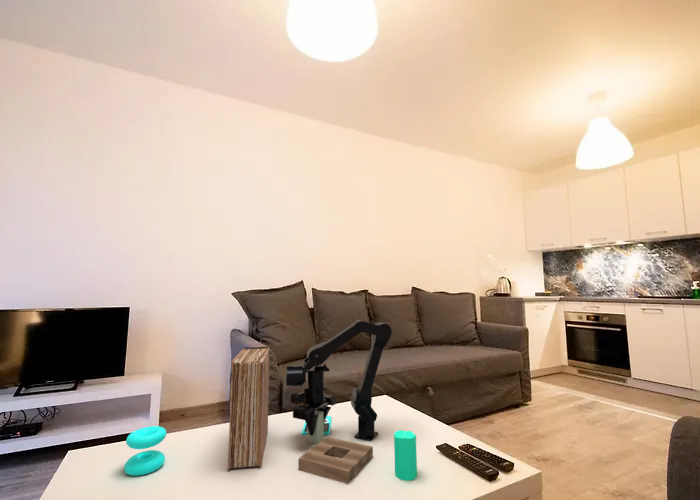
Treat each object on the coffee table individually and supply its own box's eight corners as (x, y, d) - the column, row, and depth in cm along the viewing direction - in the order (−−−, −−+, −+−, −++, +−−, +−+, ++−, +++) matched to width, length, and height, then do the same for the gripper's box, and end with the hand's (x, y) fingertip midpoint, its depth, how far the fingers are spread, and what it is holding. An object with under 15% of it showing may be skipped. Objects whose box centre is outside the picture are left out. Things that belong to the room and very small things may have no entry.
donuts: (163, 435, 95) (122, 441, 91) (161, 473, 94) (119, 480, 90) (169, 422, 104) (131, 427, 101) (167, 457, 103) (128, 463, 99)
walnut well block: (327, 446, 109) (327, 436, 110) (372, 457, 102) (372, 446, 103) (298, 469, 95) (298, 458, 96) (348, 483, 88) (348, 471, 88)
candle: (417, 481, 89) (415, 433, 90) (394, 479, 90) (393, 432, 92) (417, 470, 95) (415, 425, 96) (395, 468, 96) (394, 423, 97)
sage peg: (313, 437, 117) (313, 409, 118) (323, 439, 115) (323, 411, 116) (307, 441, 113) (307, 413, 114) (317, 444, 111) (317, 415, 112)
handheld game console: (332, 419, 134) (332, 415, 134) (330, 436, 118) (330, 432, 119) (306, 419, 134) (306, 415, 134) (301, 436, 118) (301, 432, 119)
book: (261, 469, 96) (263, 360, 99) (227, 472, 94) (231, 361, 98) (267, 432, 121) (269, 346, 124) (241, 434, 119) (243, 347, 123)
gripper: (311, 376, 128) (310, 419, 126) (279, 388, 112) (278, 438, 110) (336, 379, 123) (336, 424, 121) (307, 393, 107) (307, 445, 105)
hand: (315, 432), depth 114 cm, fingers open, 4 cm apart
